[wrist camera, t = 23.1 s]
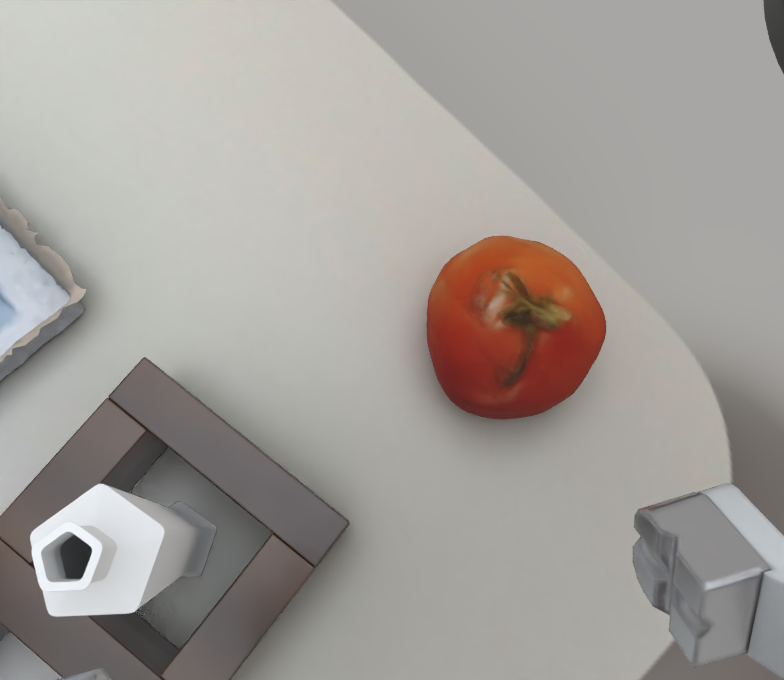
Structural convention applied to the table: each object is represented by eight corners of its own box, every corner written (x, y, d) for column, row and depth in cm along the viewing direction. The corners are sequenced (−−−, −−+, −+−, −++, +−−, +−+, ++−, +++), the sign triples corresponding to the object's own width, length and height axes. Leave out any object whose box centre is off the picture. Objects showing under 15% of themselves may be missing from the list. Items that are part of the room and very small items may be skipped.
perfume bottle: (166, 610, 36) (42, 673, 21) (117, 538, 37) (-35, 553, 22) (241, 551, 37) (172, 573, 22) (192, 482, 38) (94, 460, 23)
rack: (169, 376, 39) (143, 356, 34) (350, 521, 38) (350, 522, 33) (-156, 743, 34) (-241, 781, 29) (40, 926, 32) (-14, 998, 28)
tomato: (501, 236, 42) (536, 172, 34) (609, 355, 40) (671, 317, 33) (379, 333, 40) (386, 290, 32) (488, 461, 39) (523, 448, 31)
